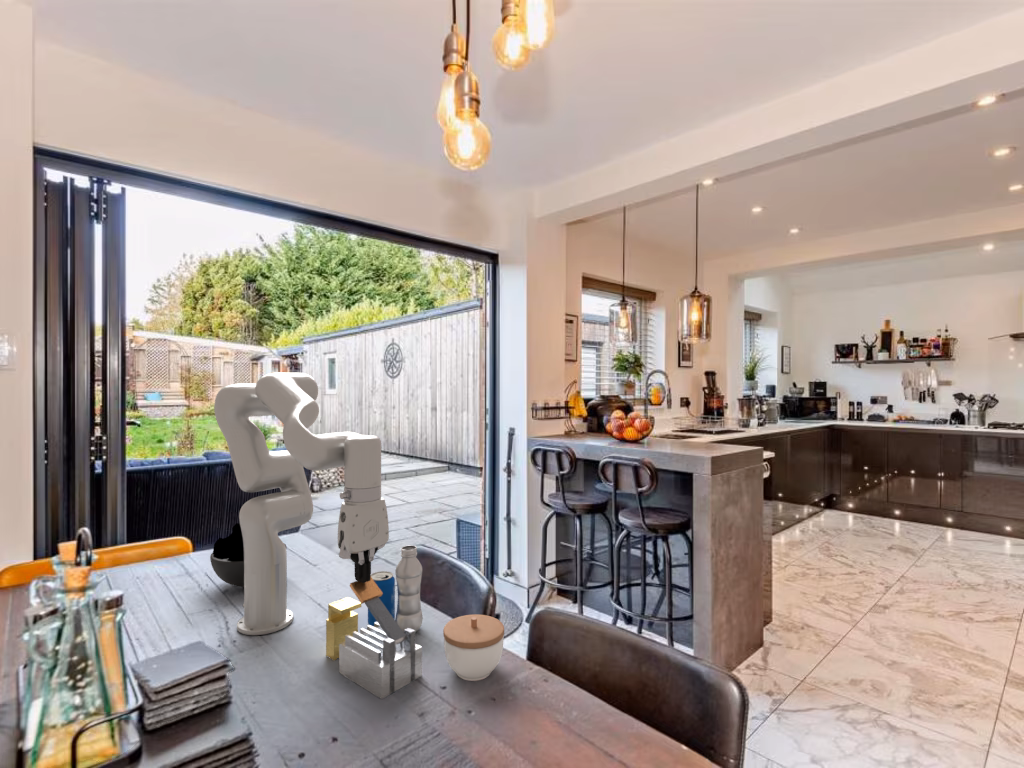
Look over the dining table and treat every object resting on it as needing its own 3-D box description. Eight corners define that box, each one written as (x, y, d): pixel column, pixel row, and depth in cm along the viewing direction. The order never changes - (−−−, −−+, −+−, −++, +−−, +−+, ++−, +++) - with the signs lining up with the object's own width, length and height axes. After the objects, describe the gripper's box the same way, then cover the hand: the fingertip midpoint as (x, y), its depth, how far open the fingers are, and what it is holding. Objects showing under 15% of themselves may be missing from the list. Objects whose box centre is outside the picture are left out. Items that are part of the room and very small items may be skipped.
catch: (326, 655, 115) (326, 604, 114) (349, 645, 119) (350, 596, 119) (339, 663, 111) (339, 611, 111) (363, 652, 116) (363, 602, 116)
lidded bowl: (480, 696, 100) (481, 639, 100) (430, 676, 107) (430, 622, 107) (515, 666, 111) (515, 614, 111) (467, 649, 118) (467, 600, 118)
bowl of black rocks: (210, 604, 140) (210, 534, 140) (209, 579, 158) (209, 516, 157) (291, 589, 150) (291, 524, 150) (282, 567, 168) (282, 508, 167)
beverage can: (387, 631, 126) (388, 581, 126) (363, 628, 127) (363, 579, 127) (398, 619, 132) (399, 571, 132) (375, 616, 134) (375, 569, 133)
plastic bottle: (427, 626, 128) (427, 545, 128) (413, 639, 122) (413, 553, 122) (404, 622, 131) (404, 542, 130) (389, 634, 124) (389, 550, 124)
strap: (409, 638, 106) (412, 634, 105) (389, 648, 102) (392, 643, 101) (368, 580, 114) (370, 576, 114) (348, 587, 110) (350, 583, 110)
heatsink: (339, 672, 108) (339, 624, 108) (379, 653, 116) (379, 608, 116) (381, 699, 99) (381, 646, 99) (421, 675, 107) (422, 627, 107)
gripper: (342, 503, 103) (342, 596, 103) (402, 490, 114) (402, 574, 115) (320, 497, 107) (320, 586, 108) (380, 486, 119) (380, 566, 119)
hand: (362, 580), depth 111 cm, fingers closed
